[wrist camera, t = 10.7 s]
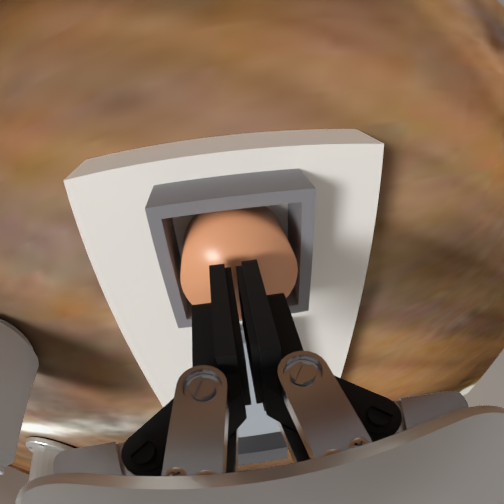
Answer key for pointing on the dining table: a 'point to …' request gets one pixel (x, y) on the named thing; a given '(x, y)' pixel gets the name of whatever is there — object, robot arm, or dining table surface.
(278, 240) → the button
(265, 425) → the slate rocker
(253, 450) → the slider
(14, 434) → the can
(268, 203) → the panel
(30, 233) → the dining table surface
